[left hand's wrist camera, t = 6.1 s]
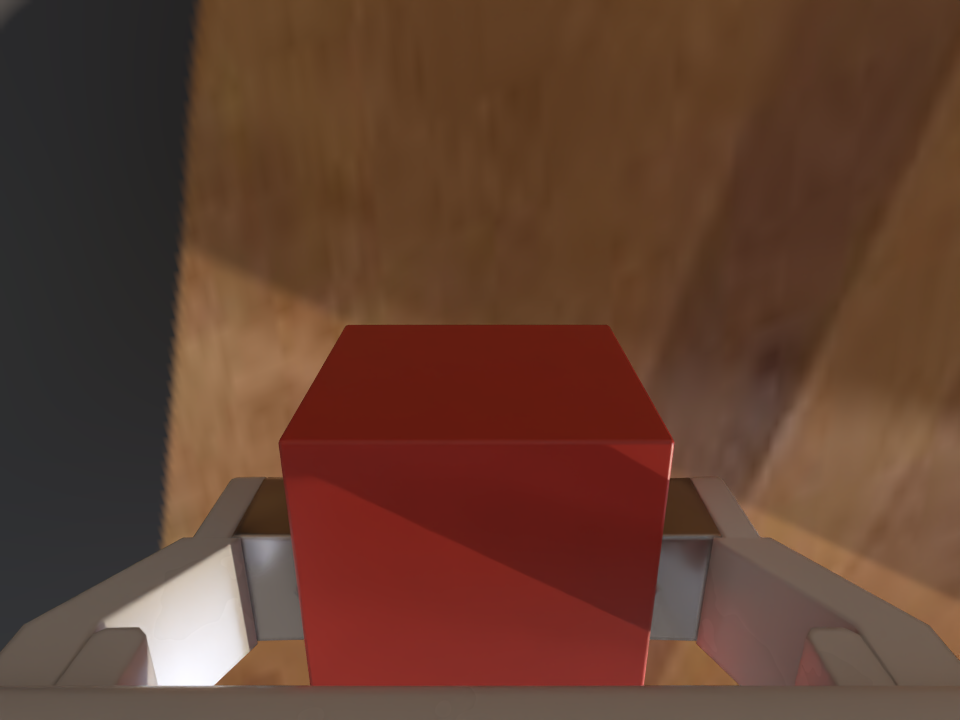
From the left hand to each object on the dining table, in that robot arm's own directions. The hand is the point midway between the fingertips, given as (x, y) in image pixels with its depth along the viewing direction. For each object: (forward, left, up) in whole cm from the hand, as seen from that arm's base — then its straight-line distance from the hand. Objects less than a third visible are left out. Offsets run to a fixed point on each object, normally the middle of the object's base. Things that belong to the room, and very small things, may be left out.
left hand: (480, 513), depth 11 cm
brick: (0, 0, -2) cm, 2 cm away
